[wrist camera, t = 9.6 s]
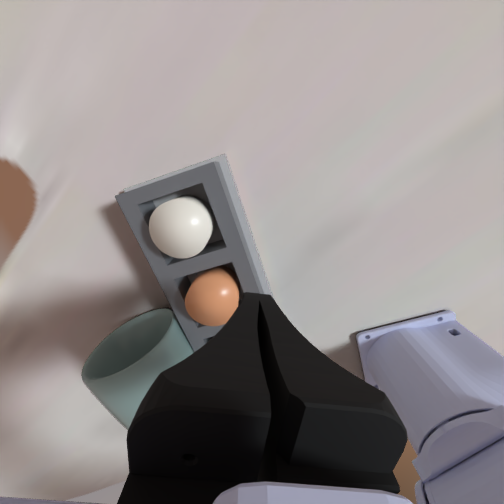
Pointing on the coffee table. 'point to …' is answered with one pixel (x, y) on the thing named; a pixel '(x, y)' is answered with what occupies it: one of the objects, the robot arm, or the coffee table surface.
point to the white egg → (182, 226)
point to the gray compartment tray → (217, 248)
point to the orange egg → (213, 296)
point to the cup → (134, 361)
